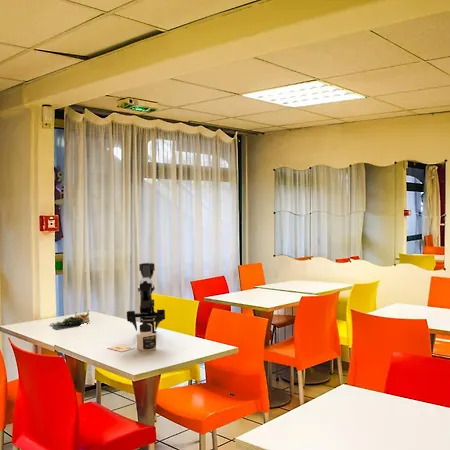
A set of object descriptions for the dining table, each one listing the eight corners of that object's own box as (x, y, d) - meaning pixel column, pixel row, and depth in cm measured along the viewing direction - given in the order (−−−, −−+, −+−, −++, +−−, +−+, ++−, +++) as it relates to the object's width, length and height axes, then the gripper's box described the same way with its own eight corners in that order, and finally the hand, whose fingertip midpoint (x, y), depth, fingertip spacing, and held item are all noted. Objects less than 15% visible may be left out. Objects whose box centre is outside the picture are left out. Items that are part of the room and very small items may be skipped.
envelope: (107, 348, 255) (107, 347, 255) (121, 345, 261) (121, 344, 261) (121, 352, 248) (121, 351, 248) (135, 348, 254) (135, 347, 254)
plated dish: (90, 317, 338) (89, 305, 338) (110, 324, 316) (109, 312, 316) (36, 326, 316) (35, 314, 315) (54, 334, 294) (53, 322, 294)
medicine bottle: (143, 351, 248) (142, 326, 248) (136, 348, 254) (135, 323, 254) (156, 348, 253) (155, 324, 252) (149, 345, 258) (148, 321, 258)
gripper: (126, 294, 256) (125, 321, 246) (164, 293, 259) (165, 319, 248) (127, 307, 264) (127, 334, 254) (164, 306, 267) (165, 332, 256)
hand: (146, 329), depth 253 cm, fingers open, 9 cm apart
